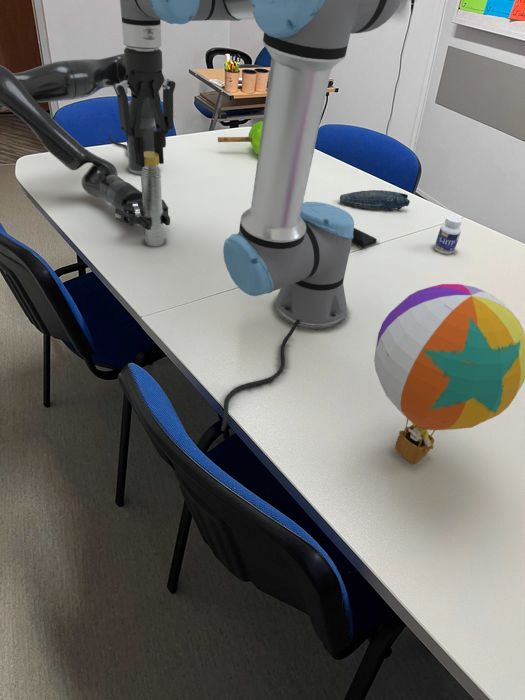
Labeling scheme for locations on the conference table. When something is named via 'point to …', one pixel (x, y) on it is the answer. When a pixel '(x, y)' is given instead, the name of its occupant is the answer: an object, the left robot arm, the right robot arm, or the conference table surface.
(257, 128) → the decorative tree
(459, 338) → the toy
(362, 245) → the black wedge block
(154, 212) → the bottle
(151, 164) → the cap
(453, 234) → the pill bottle
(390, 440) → the conference table surface
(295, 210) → the right robot arm
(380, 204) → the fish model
